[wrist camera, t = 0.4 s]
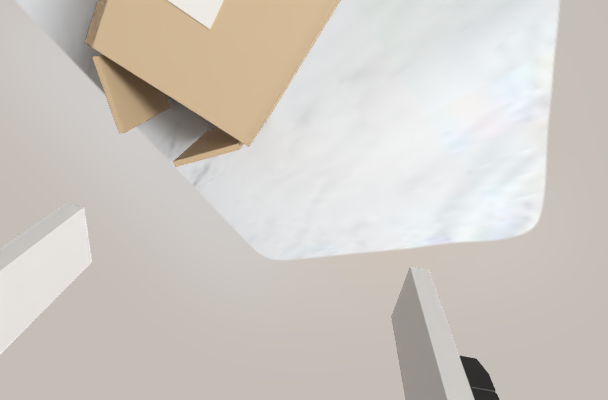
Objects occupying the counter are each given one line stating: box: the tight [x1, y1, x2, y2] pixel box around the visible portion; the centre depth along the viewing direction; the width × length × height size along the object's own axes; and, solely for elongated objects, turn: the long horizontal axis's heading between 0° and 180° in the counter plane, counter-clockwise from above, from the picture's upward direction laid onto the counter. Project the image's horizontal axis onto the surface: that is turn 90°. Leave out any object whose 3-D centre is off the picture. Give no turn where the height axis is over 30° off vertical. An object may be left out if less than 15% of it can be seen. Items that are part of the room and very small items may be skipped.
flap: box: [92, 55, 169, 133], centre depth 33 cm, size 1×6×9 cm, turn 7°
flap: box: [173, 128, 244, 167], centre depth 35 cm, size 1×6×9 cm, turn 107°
